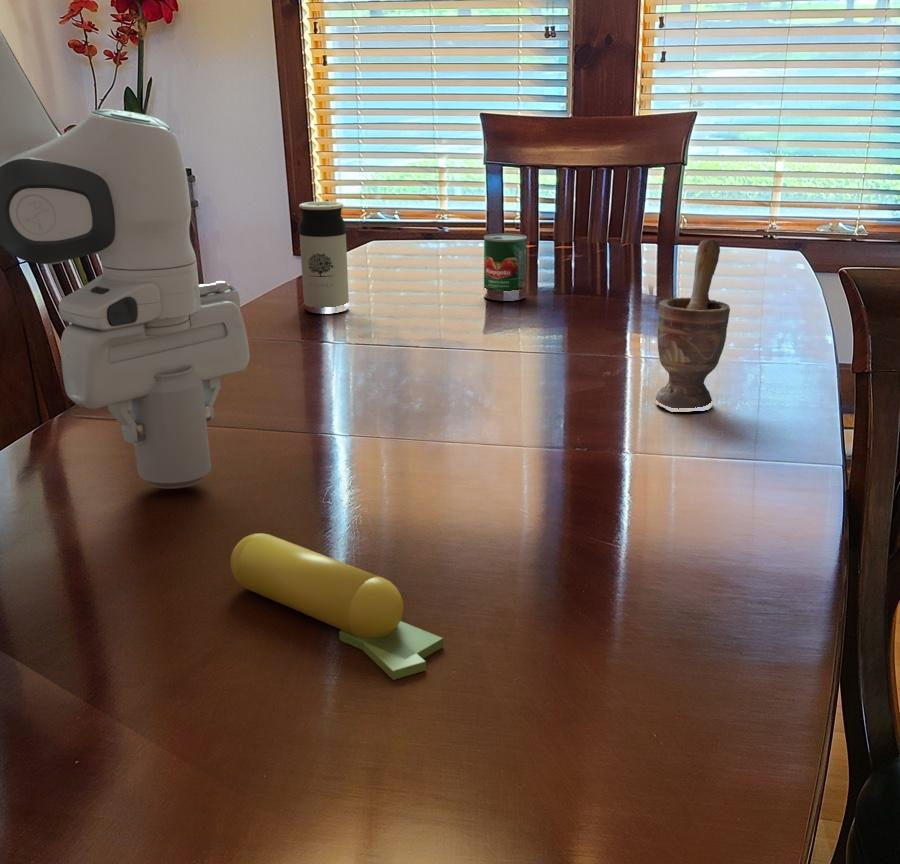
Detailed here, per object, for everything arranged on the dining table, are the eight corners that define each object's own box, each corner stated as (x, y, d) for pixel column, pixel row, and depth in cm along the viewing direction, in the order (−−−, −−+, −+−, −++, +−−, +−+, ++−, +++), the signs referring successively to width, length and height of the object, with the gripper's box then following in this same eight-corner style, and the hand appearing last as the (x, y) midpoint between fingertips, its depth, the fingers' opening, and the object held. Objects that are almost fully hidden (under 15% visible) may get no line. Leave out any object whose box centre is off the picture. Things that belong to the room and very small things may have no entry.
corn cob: (207, 596, 91) (201, 542, 89) (265, 571, 96) (260, 519, 93) (402, 684, 78) (401, 624, 76) (459, 650, 83) (459, 592, 80)
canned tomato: (523, 293, 205) (524, 233, 201) (527, 301, 198) (529, 239, 194) (481, 293, 205) (482, 233, 200) (484, 302, 198) (485, 240, 193)
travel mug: (316, 304, 197) (310, 200, 189) (356, 307, 194) (352, 202, 186) (296, 313, 190) (289, 205, 182) (337, 316, 188) (332, 207, 180)
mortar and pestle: (644, 389, 147) (656, 236, 138) (708, 390, 146) (725, 236, 137) (655, 415, 136) (669, 251, 127) (724, 415, 136) (743, 251, 127)
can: (212, 464, 117) (201, 354, 112) (211, 489, 110) (199, 373, 105) (141, 468, 116) (126, 357, 110) (136, 493, 109) (119, 377, 104)
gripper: (216, 274, 113) (229, 402, 120) (42, 305, 99) (66, 448, 106) (256, 281, 110) (267, 413, 116) (81, 315, 96) (103, 462, 102)
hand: (170, 430), depth 111 cm, fingers closed on can, 7 cm apart
